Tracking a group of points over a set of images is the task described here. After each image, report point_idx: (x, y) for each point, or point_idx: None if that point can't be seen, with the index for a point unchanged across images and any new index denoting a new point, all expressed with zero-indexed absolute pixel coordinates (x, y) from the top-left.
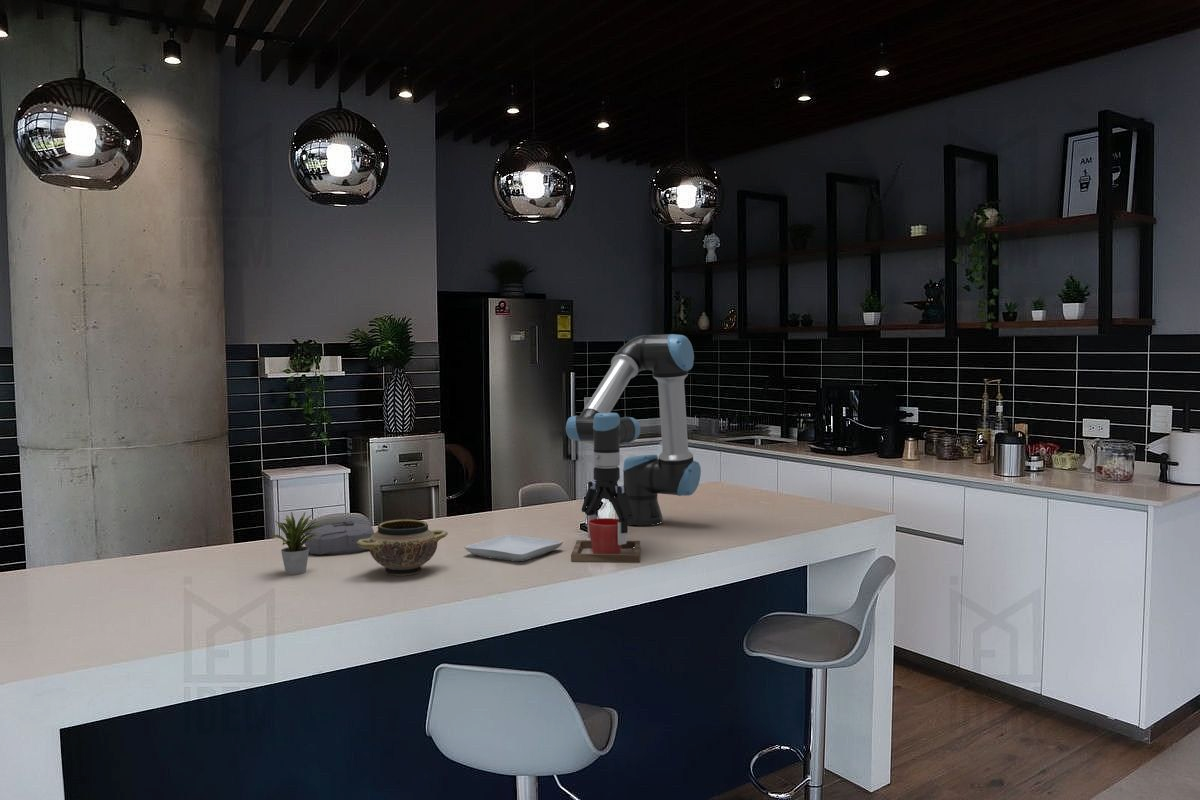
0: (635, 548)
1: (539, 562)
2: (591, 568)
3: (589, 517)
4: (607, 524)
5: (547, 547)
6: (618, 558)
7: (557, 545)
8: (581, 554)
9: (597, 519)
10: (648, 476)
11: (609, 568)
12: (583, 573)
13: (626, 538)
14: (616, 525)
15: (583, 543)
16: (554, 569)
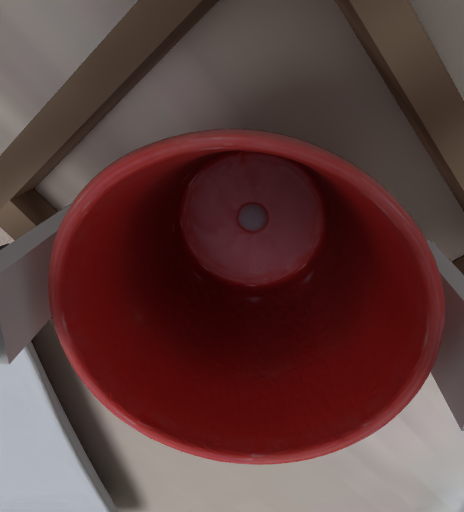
0: (434, 126)
1: (148, 463)
2: (372, 436)
3: (18, 352)
4: (136, 185)
5: (61, 420)
6: None
7: (32, 353)
8: None
9: (64, 283)
10: None
11: (441, 404)
12: (391, 491)
13: (446, 257)
14: (418, 385)
15: (25, 189)
16: (266, 498)
